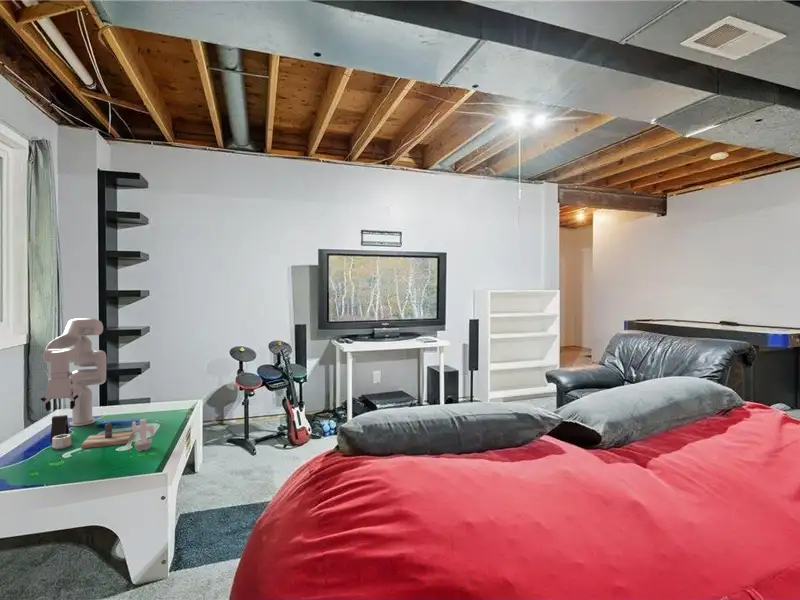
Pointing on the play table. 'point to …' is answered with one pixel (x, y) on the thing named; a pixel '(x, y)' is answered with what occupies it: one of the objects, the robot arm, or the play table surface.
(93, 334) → the robot arm
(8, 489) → the play table surface
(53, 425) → the phone stand
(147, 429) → the figurine
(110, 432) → the post stand
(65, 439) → the steel ring
